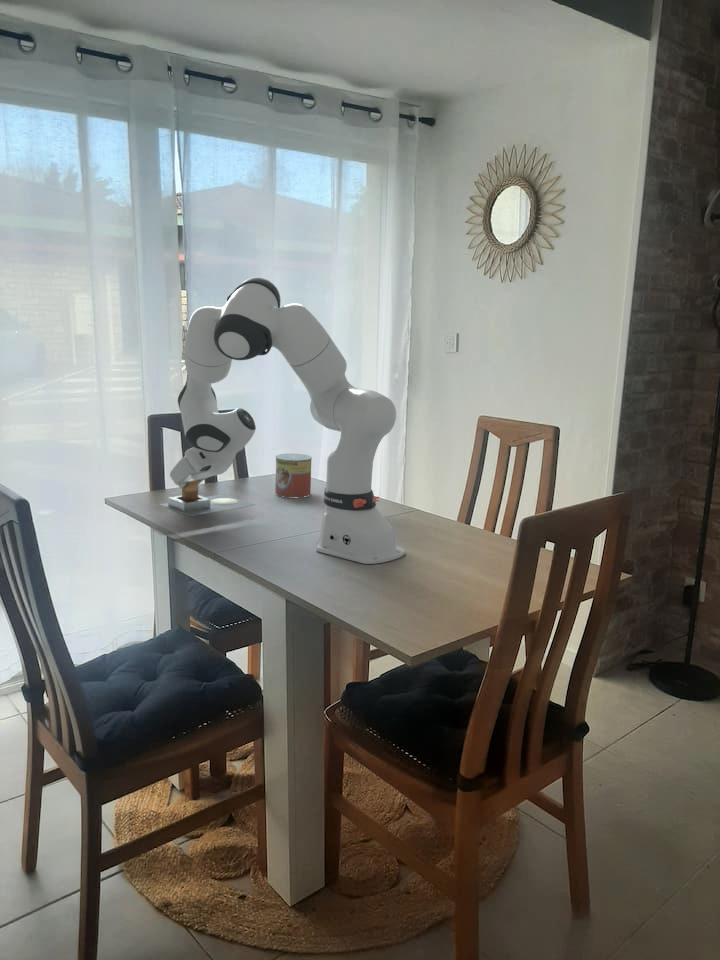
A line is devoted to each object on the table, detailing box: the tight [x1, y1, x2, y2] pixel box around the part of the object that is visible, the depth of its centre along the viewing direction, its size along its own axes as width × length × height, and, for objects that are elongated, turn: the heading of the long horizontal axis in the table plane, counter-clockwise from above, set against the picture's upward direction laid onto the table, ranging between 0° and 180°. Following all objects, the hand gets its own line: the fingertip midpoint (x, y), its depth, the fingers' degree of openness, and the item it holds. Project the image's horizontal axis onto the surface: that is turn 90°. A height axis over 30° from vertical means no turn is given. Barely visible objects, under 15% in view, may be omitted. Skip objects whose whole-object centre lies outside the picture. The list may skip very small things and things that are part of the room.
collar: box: [167, 494, 210, 512], centre depth 204 cm, size 8×8×2 cm
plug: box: [181, 480, 199, 502], centre depth 204 cm, size 4×4×9 cm
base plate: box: [159, 493, 256, 518], centre depth 208 cm, size 16×22×1 cm
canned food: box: [274, 453, 313, 498], centre depth 229 cm, size 11×11×12 cm
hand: (188, 484), depth 204 cm, fingers closed on plug, 4 cm apart
